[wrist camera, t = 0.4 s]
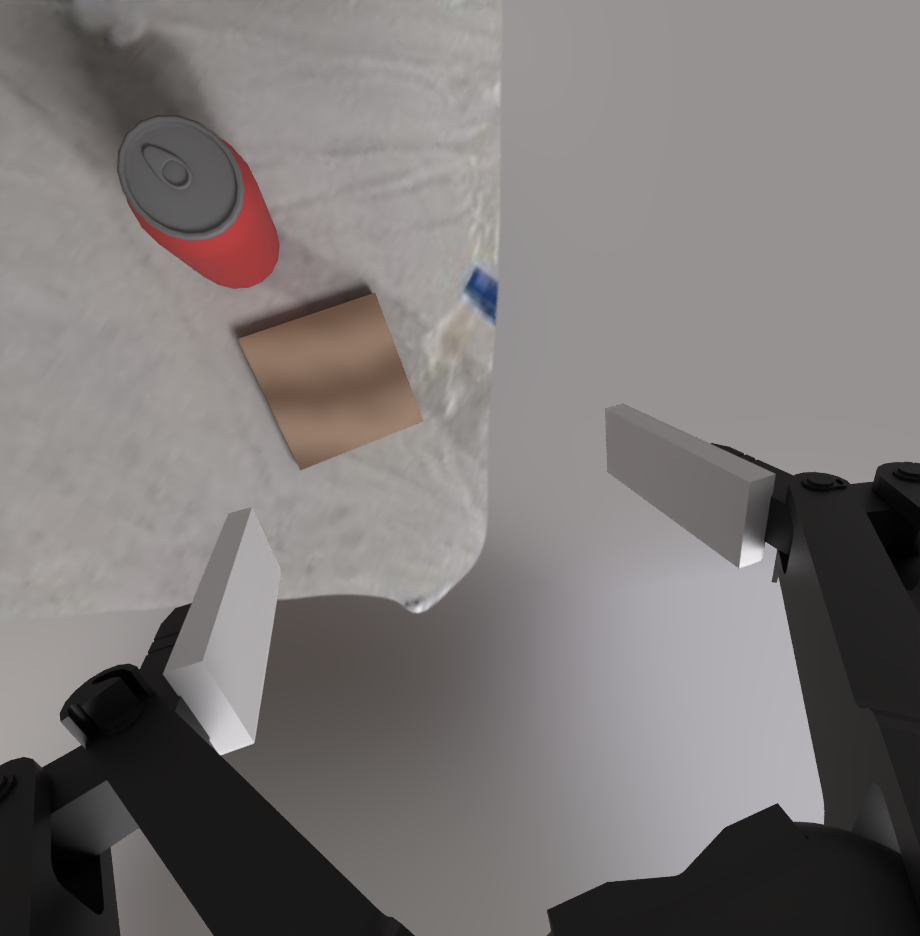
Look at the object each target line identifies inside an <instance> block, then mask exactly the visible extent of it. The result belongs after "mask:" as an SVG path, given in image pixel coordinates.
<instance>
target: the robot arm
mask: <svg viewBox="0 0 920 936" xmlns="http://www.w3.org/2000/svg"><path fill="white" fill-rule="evenodd" d="M605 418H606V446H607V472H608V473H610V474H611V475H612V476H614V477H615V478H616V479H618V480H619V481H620V482H622V483H623V484H624V485H626V486H627V487H628V488H630V489H631V490H633V491H634V492H635V493H637V494H638V495H640V496H641V497H642V498H643V499H645V500H646V501H648V502H649V503H650V504H652V505H653V506H654V507H656V508H657V509H659V510H660V511H661V512H663V513H664V514H666V515H667V516H668V517H669V518H671V519H673V520H674V521H675V522H676V523H678V524H679V525H680V526H682V527H683V528H684V529H686V530H687V531H689V532H690V533H691V534H693V535H694V536H695V537H697V538H698V539H699V540H701V541H702V542H704V543H705V544H706V545H708V546H709V547H710V548H712V549H713V550H715V551H716V552H717V553H719V554H720V555H721V556H723V557H724V558H725V559H727V560H728V561H730V562H731V563H732V564H734V565H735V566H736V567H738V568H742V567H745V566H747V565H750V564H753V563H755V562H758V561H761V560H763V553H764V546H765V542H767V543H769V544H770V545H772V546H773V547H775V548H776V549H777V555H776V560H775V566H774V572H773V578H772V582H777V579H778V577H779V581H780V586H781V590H782V595H783V600H784V605H785V610H786V615H787V620H788V625H789V630H790V635H791V640H792V644H793V649H794V655H795V659H796V665H797V669H798V674H799V679H800V684H801V689H802V693H803V699H804V704H805V709H806V714H807V719H808V724H809V729H810V734H811V738H812V743H813V749H814V753H815V758H816V763H817V768H818V773H819V778H820V783H821V787H822V793H823V799H824V810H825V812H824V814H825V815H824V825H822V824H817V823H808V822H793V821H792V820H791V819H790V818H789V816H788V815H787V814H786V813H785V812H784V810H783V809H782V808H781V807H780V806H779V804H778V803H777V804H775V805H773V806H771V807H768V808H766V809H764V810H762V811H760V812H758V813H756V814H753V815H751V816H749V817H747V818H745V819H743V820H740V821H738V822H736V823H734V824H732V825H730V826H727V827H725V828H724V829H723V830H722V831H721V832H720V834H718V836H717V837H716V838H715V839H714V840H713V841H712V842H711V843H710V844H709V845H708V846H707V847H706V849H704V850H703V852H702V853H701V854H700V855H699V856H698V857H697V858H696V859H695V860H694V861H693V862H692V863H691V864H690V866H689V867H688V868H687V869H686V870H685V871H684V872H683V873H681V874H680V875H677V876H671V877H660V878H649V879H637V880H627V881H615V882H607V883H604V884H603V885H600V886H598V887H596V888H594V889H591V890H589V891H587V892H585V893H583V894H581V895H579V896H576V897H574V898H572V899H570V900H568V901H566V902H563V903H562V904H559V905H557V906H555V907H553V908H551V909H548V910H547V913H548V918H549V922H550V927H551V932H550V933H549V934H548V935H547V936H920V463H912V462H893V463H886V464H883V465H881V466H879V467H878V468H877V471H876V474H875V478H874V482H866V483H857V484H850V483H849V482H848V481H846V480H844V479H842V478H840V477H838V476H834V475H830V474H826V473H817V472H806V473H800V474H796V475H794V476H793V475H791V474H789V473H787V472H784V471H782V470H780V469H778V468H775V467H773V466H771V465H769V464H767V463H764V462H762V461H760V460H755V458H753V457H751V456H749V455H744V453H742V452H739V451H737V450H735V449H733V448H731V447H727V446H722V445H718V444H713V443H711V444H710V443H707V442H705V441H703V440H701V439H699V438H697V437H694V436H692V435H690V434H688V433H685V432H684V431H681V430H679V429H677V428H675V427H673V426H671V425H668V424H666V423H664V422H662V421H660V420H657V419H655V418H653V417H651V416H649V415H646V414H644V413H642V412H640V411H638V410H636V409H634V408H631V407H629V406H627V405H625V404H620V405H616V406H613V407H609V408H606V409H605ZM280 577H281V569H280V567H279V565H278V563H277V561H276V558H275V556H274V554H273V552H272V550H271V548H270V545H269V543H268V541H267V539H266V537H265V534H264V532H263V530H262V528H261V526H260V524H259V521H258V519H257V517H256V515H255V513H254V510H253V508H252V507H251V508H247V509H244V510H240V511H237V512H233V513H230V514H228V516H227V518H226V521H225V523H224V526H223V528H222V531H221V533H220V536H219V538H218V540H217V543H216V545H215V548H214V550H213V553H212V555H211V558H210V560H209V562H208V565H207V567H206V570H205V572H204V575H203V577H202V580H201V582H200V584H199V587H198V589H197V592H196V594H195V597H194V599H193V601H192V603H191V604H188V605H184V606H181V607H178V608H175V609H174V610H173V612H172V613H171V614H170V615H169V616H168V617H167V618H166V619H165V620H164V622H163V623H162V624H161V626H160V628H159V630H158V632H157V634H156V636H155V638H154V642H153V643H152V645H151V647H150V649H149V651H148V655H147V656H146V657H145V660H144V662H143V664H142V666H141V668H140V670H139V669H138V667H137V666H134V665H131V664H123V665H117V666H114V667H112V668H109V669H106V670H104V671H102V672H101V673H99V674H98V675H96V676H94V677H92V678H90V679H89V680H88V681H87V682H85V683H84V684H83V685H82V686H80V687H79V688H78V689H77V690H76V691H75V692H74V693H73V694H72V695H71V696H70V698H69V699H68V700H67V701H66V702H65V704H64V706H63V708H62V710H61V712H60V720H61V723H62V724H63V725H64V726H65V727H66V728H67V729H68V730H69V732H70V733H71V734H72V735H73V736H74V737H75V738H76V739H77V740H78V741H79V742H80V744H81V746H79V747H78V748H76V749H74V750H73V751H71V752H69V753H67V754H65V755H64V756H62V757H60V758H58V759H57V760H55V761H53V762H51V763H49V764H48V765H46V766H44V767H42V768H41V767H40V766H39V765H38V764H37V763H36V762H35V761H34V760H33V759H30V758H26V757H22V758H18V759H14V760H10V761H8V762H6V763H4V764H2V765H0V936H120V928H119V919H118V910H117V901H116V892H115V883H114V875H113V865H112V856H111V846H112V845H114V844H115V843H117V842H118V841H120V840H121V839H123V838H124V837H126V836H127V835H129V834H130V833H132V832H133V831H135V830H136V829H138V828H140V829H141V830H142V832H143V833H144V835H145V836H146V838H147V839H148V841H149V842H150V844H151V845H152V846H153V848H154V849H155V851H156V852H157V854H158V855H159V857H160V858H161V860H162V861H163V863H164V864H165V865H166V867H167V868H168V870H169V871H170V873H171V874H172V876H173V877H174V879H175V880H176V882H177V883H178V884H179V886H180V887H181V889H182V890H183V892H184V893H185V894H186V896H187V898H188V899H189V900H190V902H191V903H192V905H193V906H194V908H195V909H196V911H197V912H198V914H199V915H200V916H201V918H202V919H203V921H204V922H205V924H206V925H207V927H208V928H209V929H210V931H211V932H212V934H213V935H214V936H414V935H413V934H412V933H411V932H410V931H409V930H408V929H406V928H405V927H404V926H403V925H402V924H401V923H400V922H398V921H397V920H396V919H394V918H393V917H388V916H386V915H384V914H383V913H382V912H381V911H379V910H378V909H377V908H376V907H375V906H374V905H373V904H372V903H371V902H370V901H369V900H368V899H367V898H366V897H365V896H364V895H363V894H362V893H361V892H360V891H359V890H358V889H357V888H356V887H355V886H354V885H353V884H352V883H351V882H350V881H349V880H348V879H347V878H345V877H344V876H343V875H342V874H341V873H340V872H339V871H338V870H337V869H336V868H335V867H334V866H333V865H332V864H331V863H330V862H329V861H328V860H327V859H326V858H325V857H324V856H323V855H322V854H321V853H320V852H319V851H318V850H317V849H316V848H315V847H313V845H312V844H311V843H310V842H309V841H308V840H307V839H305V838H304V837H303V836H302V835H301V834H300V833H299V832H298V831H297V830H296V829H295V828H294V827H293V826H292V825H291V824H290V823H289V822H288V821H287V820H286V819H285V818H284V817H283V816H282V815H281V814H280V813H279V812H278V811H277V810H276V809H275V808H274V807H273V806H272V805H271V804H270V803H269V802H268V801H266V800H265V799H264V798H263V797H262V796H261V795H260V794H259V793H258V792H257V791H256V790H255V789H254V788H253V787H252V786H251V785H250V784H249V783H248V782H247V781H246V780H245V779H244V778H243V777H242V776H241V775H240V774H239V773H238V772H237V771H236V770H235V769H234V768H233V767H232V766H231V765H230V764H229V763H228V762H227V761H225V760H224V759H223V758H222V757H221V756H220V755H222V754H225V753H228V752H231V751H234V750H236V749H239V748H242V747H245V746H248V745H250V744H253V743H254V742H255V735H256V729H257V723H258V716H259V710H260V704H261V697H262V691H263V685H264V678H265V671H266V666H267V659H268V653H269V646H270V640H271V634H272V627H273V621H274V615H275V607H276V602H277V596H278V589H279V583H280ZM209 740H210V742H211V743H212V745H213V746H214V748H215V749H216V750H217V752H218V753H219V754H218V753H217V752H216V751H215V750H214V749H213V748H212V747H211V746H210V745H209V744H208V743H209Z"/></svg>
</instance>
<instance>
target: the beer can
mask: <svg viewBox="0 0 920 936" xmlns="http://www.w3.org/2000/svg"><path fill="white" fill-rule="evenodd" d="M117 172H118V175H119V179H120V183H121V187H122V190H123V192H124V194H125V196H126V198H127V202H128V204H129V206H130V208H131V210H132V212H133V213H134V215H135V217H136V218H137V220H138V221H139V223H140V225H141V226H142V228H143V229H144V230H145V231H146V232H147V233H148V234H149V235H150V236H151V237H152V238H153V239H154V240H155V241H156V242H157V243H158V244H160V245H161V246H162V247H164V248H165V249H166V250H168V251H169V252H171V253H172V254H173V255H175V256H176V257H178V258H179V259H180V260H182V261H183V262H184V263H186V264H187V265H189V266H190V267H191V268H193V269H194V270H196V271H197V272H198V273H200V274H201V275H202V276H204V277H205V278H207V279H209V280H211V281H213V282H214V283H216V284H218V285H221V286H226V287H230V288H248V287H251V286H253V285H256V284H258V283H261V282H262V281H263V280H264V279H265V278H267V277H268V276H269V275H270V274H271V273H272V271H273V269H274V267H275V265H276V263H277V261H278V254H279V241H278V236H277V231H276V229H275V226H274V224H273V221H272V219H271V216H270V214H269V211H268V209H267V206H266V204H265V202H264V199H263V197H262V194H261V192H260V189H259V187H258V184H257V182H256V180H255V178H254V176H253V174H252V172H251V170H250V169H249V167H248V165H247V163H246V162H245V161H244V160H243V159H242V157H241V156H240V155H239V154H238V153H237V152H236V151H235V150H234V149H233V147H232V146H231V145H229V144H228V143H227V142H226V141H224V140H223V139H221V138H220V137H218V136H217V135H216V134H215V133H214V132H212V131H211V130H209V129H208V128H206V127H205V126H203V125H202V124H200V123H199V122H196V121H193V120H190V119H187V118H184V117H181V116H178V115H157V116H154V117H151V118H148V119H146V120H143V121H140V122H139V123H138V124H137V125H135V126H134V127H133V128H132V129H131V130H130V131H129V132H128V133H127V134H126V135H125V137H124V140H123V142H122V144H121V146H120V148H119V150H118V165H117Z"/></svg>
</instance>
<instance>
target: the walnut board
mask: <svg viewBox="0 0 920 936" xmlns="http://www.w3.org/2000/svg"><path fill="white" fill-rule="evenodd" d="M238 341H239V343H240V345H241V347H242V349H243V351H244V353H245V356H246V358H247V360H248V362H249V364H250V366H251V368H252V370H253V372H254V374H255V376H256V378H257V381H258V383H259V385H260V387H261V389H262V391H263V393H264V395H265V397H266V399H267V401H268V404H269V406H270V408H271V410H272V412H273V414H274V416H275V418H276V420H277V422H278V424H279V427H280V429H281V431H282V433H283V435H284V437H285V439H286V441H287V443H288V445H289V447H290V449H291V452H292V454H293V456H294V458H295V460H296V462H297V464H298V466H299V468H300V470H302V469H305V468H307V467H310V466H312V465H315V464H317V463H320V462H322V461H325V460H327V459H330V458H332V457H335V456H337V455H340V454H342V453H345V452H347V451H350V450H352V449H355V448H357V447H360V446H362V445H365V444H367V443H370V442H372V441H375V440H377V439H380V438H383V437H385V436H388V435H390V434H393V433H395V432H398V431H400V430H403V429H405V428H408V427H410V426H413V425H415V424H418V423H420V422H423V419H422V416H421V414H420V411H419V408H418V406H417V403H416V400H415V398H414V395H413V392H412V390H411V387H410V385H409V382H408V379H407V377H406V374H405V371H404V369H403V366H402V363H401V361H400V358H399V355H398V353H397V350H396V347H395V345H394V342H393V339H392V337H391V334H390V331H389V329H388V326H387V324H386V321H385V318H384V316H383V313H382V310H381V308H380V305H379V302H378V300H377V297H376V294H375V293H372V294H369V295H366V296H363V297H360V298H357V299H354V300H352V301H349V302H346V303H343V304H340V305H337V306H334V307H331V308H328V309H325V310H322V311H319V312H316V313H313V314H310V315H307V316H304V317H301V318H298V319H295V320H292V321H289V322H286V323H283V324H280V325H278V326H275V327H272V328H269V329H266V330H263V331H260V332H257V333H254V334H251V335H248V336H245V337H242V338H239V339H238Z"/></svg>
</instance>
